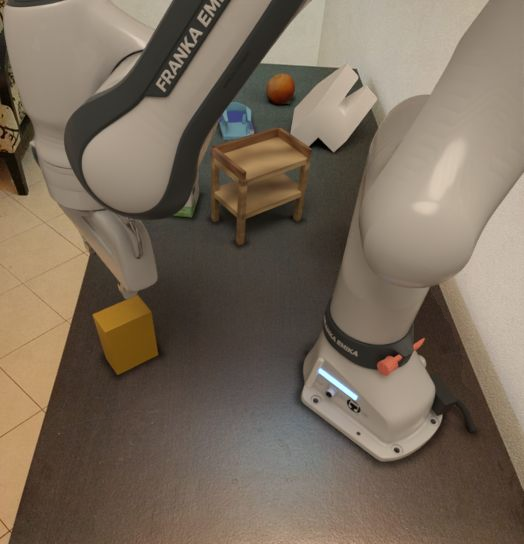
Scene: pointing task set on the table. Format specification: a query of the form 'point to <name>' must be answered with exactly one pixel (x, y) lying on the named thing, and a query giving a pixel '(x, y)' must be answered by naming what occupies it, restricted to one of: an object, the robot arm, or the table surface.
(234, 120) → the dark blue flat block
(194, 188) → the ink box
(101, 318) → the yellow block
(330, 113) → the slotted wedge
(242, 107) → the chair
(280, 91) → the fruit
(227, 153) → the rack
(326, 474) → the table surface
